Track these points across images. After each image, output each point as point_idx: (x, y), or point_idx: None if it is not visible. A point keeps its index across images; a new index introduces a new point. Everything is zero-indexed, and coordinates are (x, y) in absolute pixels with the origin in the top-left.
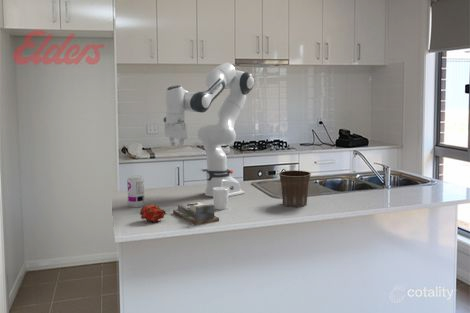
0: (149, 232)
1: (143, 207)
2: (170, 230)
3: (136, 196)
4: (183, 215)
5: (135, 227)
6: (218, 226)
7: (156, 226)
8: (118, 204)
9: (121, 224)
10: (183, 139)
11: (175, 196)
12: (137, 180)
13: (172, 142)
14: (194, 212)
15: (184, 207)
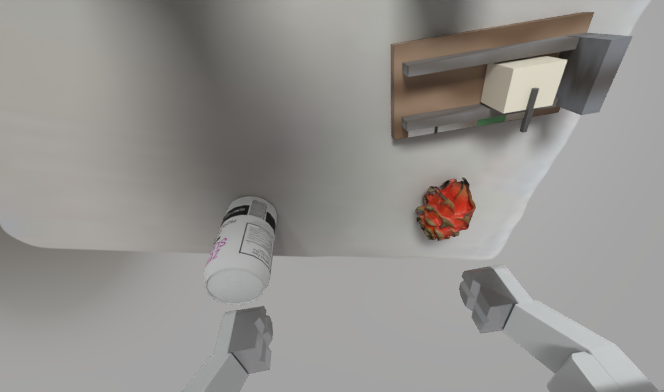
0: (510, 214)
1: (442, 239)
2: (534, 175)
3: (274, 238)
4: (477, 125)
5: None
6: None
7: (482, 197)
8: None
9: (416, 252)
10: (643, 381)
11: (116, 59)
12: (267, 276)
13: (241, 367)
14: None
15: (452, 117)
